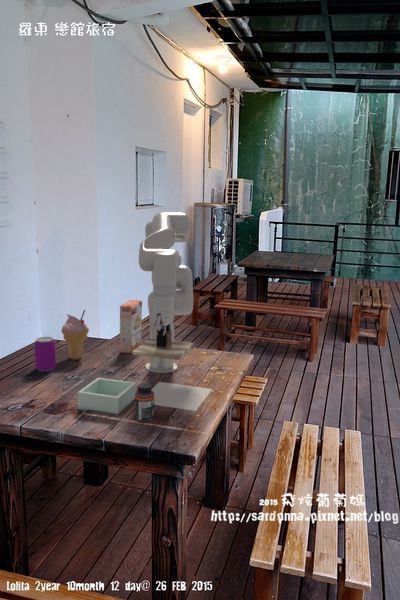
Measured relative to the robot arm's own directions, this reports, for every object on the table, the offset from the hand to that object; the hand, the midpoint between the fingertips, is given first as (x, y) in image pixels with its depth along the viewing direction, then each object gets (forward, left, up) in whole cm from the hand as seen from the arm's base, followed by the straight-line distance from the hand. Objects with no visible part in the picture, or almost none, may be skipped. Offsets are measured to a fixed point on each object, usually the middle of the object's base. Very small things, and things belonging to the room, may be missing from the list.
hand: (163, 343), depth 175 cm
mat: (-3, +4, -19) cm, 20 cm away
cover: (0, 0, -2) cm, 2 cm away
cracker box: (-48, -33, -20) cm, 62 cm away
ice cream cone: (-28, -49, -20) cm, 60 cm away
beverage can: (-12, -53, -20) cm, 58 cm away
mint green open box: (+11, -15, -19) cm, 27 cm away
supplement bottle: (+17, 0, -20) cm, 26 cm away
